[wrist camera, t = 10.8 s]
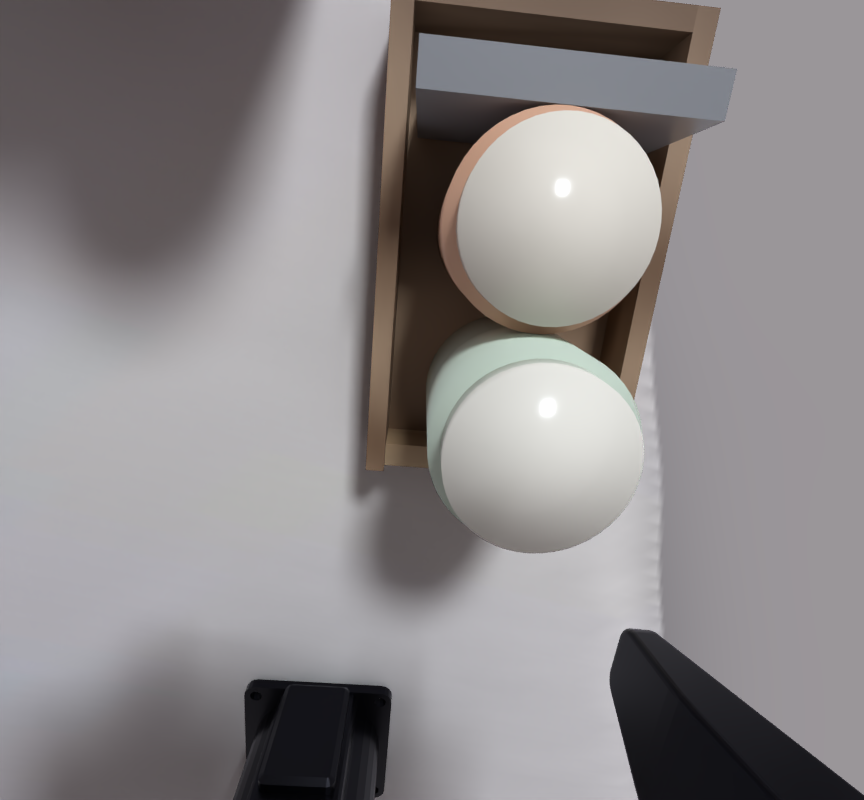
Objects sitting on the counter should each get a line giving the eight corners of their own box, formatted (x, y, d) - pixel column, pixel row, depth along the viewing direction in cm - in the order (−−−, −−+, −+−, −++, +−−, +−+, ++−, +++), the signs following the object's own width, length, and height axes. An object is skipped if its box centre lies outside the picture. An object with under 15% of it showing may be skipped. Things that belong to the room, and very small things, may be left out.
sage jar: (586, 320, 16) (681, 362, 10) (562, 463, 17) (632, 570, 11) (432, 308, 16) (438, 343, 10) (420, 453, 17) (419, 558, 11)
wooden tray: (591, 459, 19) (614, 488, 17) (372, 442, 19) (365, 469, 17) (675, 44, 15) (720, 7, 13) (397, 12, 15) (392, -31, 12)
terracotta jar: (571, 315, 17) (646, 349, 11) (429, 301, 17) (433, 329, 11) (599, 159, 16) (701, 108, 10) (444, 141, 15) (458, 79, 10)
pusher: (631, 160, 16) (724, 121, 11) (417, 137, 15) (415, 88, 10) (638, 124, 15) (736, 69, 10) (420, 101, 15) (419, 32, 10)
